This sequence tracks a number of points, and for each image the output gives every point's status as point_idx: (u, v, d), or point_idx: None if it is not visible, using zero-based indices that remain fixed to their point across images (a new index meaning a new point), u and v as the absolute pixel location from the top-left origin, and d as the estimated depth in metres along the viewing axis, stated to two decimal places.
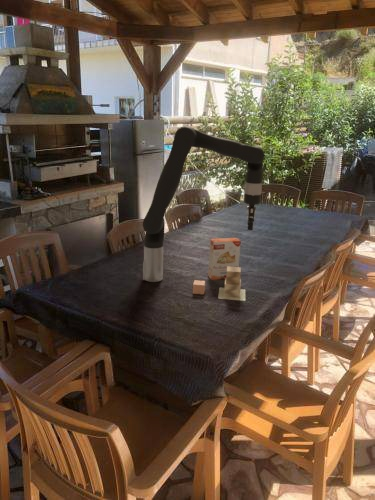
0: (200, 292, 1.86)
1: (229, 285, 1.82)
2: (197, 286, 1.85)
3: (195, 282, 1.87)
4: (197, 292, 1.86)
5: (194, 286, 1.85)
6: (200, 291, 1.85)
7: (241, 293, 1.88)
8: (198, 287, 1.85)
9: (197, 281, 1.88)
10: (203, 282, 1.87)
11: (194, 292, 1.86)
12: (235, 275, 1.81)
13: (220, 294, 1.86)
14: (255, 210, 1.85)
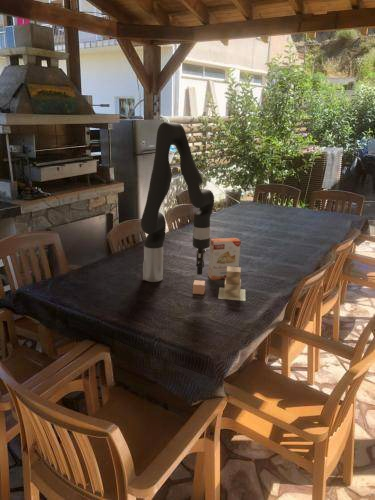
0: (200, 292, 1.86)
1: (229, 285, 1.82)
2: (197, 286, 1.85)
3: (195, 282, 1.87)
4: (197, 292, 1.86)
5: (194, 286, 1.85)
6: (200, 291, 1.85)
7: (241, 293, 1.88)
8: (198, 287, 1.85)
9: (197, 281, 1.88)
10: (203, 282, 1.87)
11: (194, 292, 1.86)
12: (235, 275, 1.81)
13: (220, 294, 1.86)
14: (204, 254, 1.80)
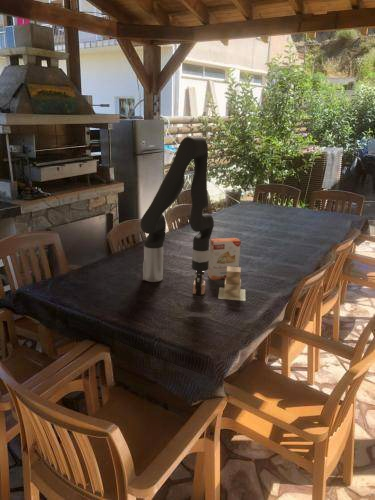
0: None
1: (229, 285, 1.82)
2: None
3: None
4: None
5: (194, 286, 1.85)
6: None
7: (241, 293, 1.88)
8: None
9: None
10: (203, 282, 1.87)
11: (194, 292, 1.86)
12: (235, 275, 1.81)
13: (220, 294, 1.86)
14: (203, 276, 1.83)
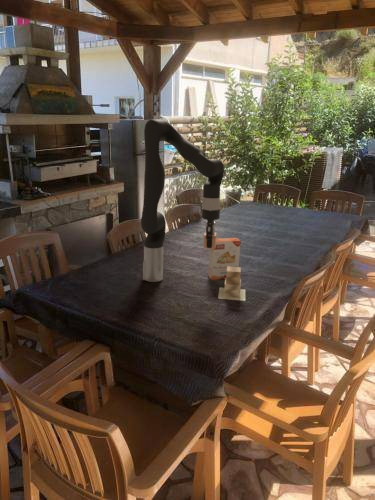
0: None
1: (229, 285, 1.82)
2: None
3: None
4: None
5: (205, 237, 1.77)
6: None
7: (241, 293, 1.88)
8: None
9: None
10: (214, 233, 1.79)
11: (205, 243, 1.78)
12: (235, 275, 1.81)
13: (220, 294, 1.86)
14: (214, 226, 1.75)
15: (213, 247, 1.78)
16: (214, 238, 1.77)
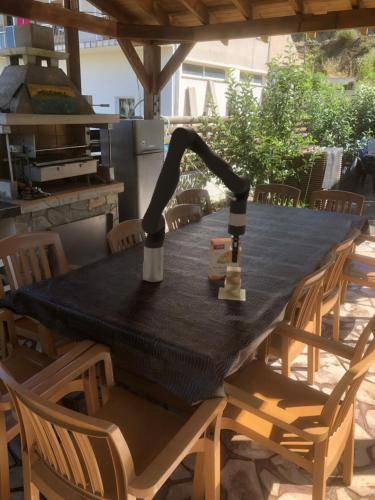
0: None
1: (229, 285, 1.82)
2: None
3: (231, 248, 1.80)
4: None
5: (231, 251, 1.78)
6: None
7: (241, 293, 1.88)
8: None
9: None
10: (239, 248, 1.80)
11: (230, 258, 1.79)
12: (235, 275, 1.81)
13: (220, 294, 1.86)
14: (239, 242, 1.77)
15: (238, 262, 1.79)
16: (239, 253, 1.78)
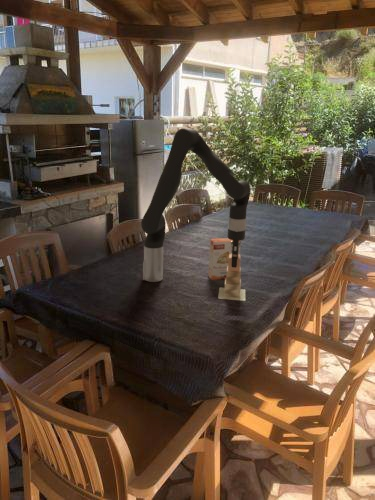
0: None
1: (229, 285, 1.82)
2: None
3: (231, 256, 1.81)
4: None
5: (230, 259, 1.79)
6: None
7: (241, 293, 1.88)
8: None
9: None
10: (238, 256, 1.82)
11: (229, 266, 1.80)
12: (235, 275, 1.81)
13: (220, 294, 1.86)
14: (239, 246, 1.77)
15: (237, 269, 1.80)
16: (239, 261, 1.79)
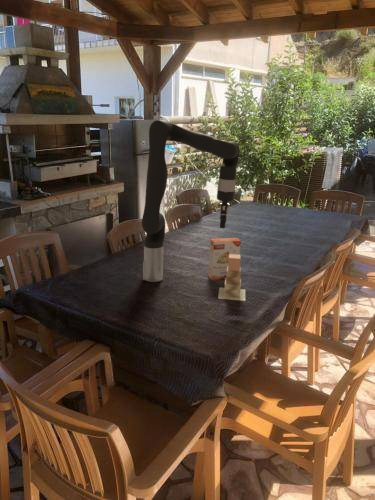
0: (236, 266, 1.80)
1: (229, 285, 1.82)
2: (233, 259, 1.79)
3: (231, 256, 1.81)
4: (233, 266, 1.80)
5: (230, 259, 1.79)
6: (236, 265, 1.80)
7: (241, 293, 1.88)
8: (234, 261, 1.79)
9: (232, 255, 1.83)
10: (238, 256, 1.82)
11: (229, 266, 1.80)
12: (235, 275, 1.81)
13: (220, 294, 1.86)
14: (228, 207, 1.78)
15: (237, 269, 1.80)
16: (239, 261, 1.79)
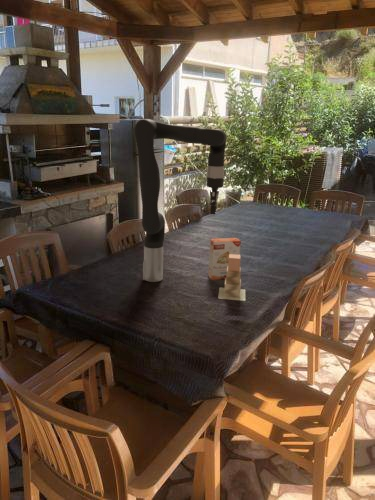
0: (236, 266, 1.80)
1: (229, 285, 1.82)
2: (233, 259, 1.79)
3: (231, 256, 1.81)
4: (233, 266, 1.80)
5: (230, 259, 1.79)
6: (236, 265, 1.80)
7: (241, 293, 1.88)
8: (234, 261, 1.79)
9: (232, 255, 1.83)
10: (238, 256, 1.82)
11: (229, 266, 1.80)
12: (235, 275, 1.81)
13: (220, 294, 1.86)
14: (218, 194, 1.83)
15: (237, 269, 1.80)
16: (239, 261, 1.79)
